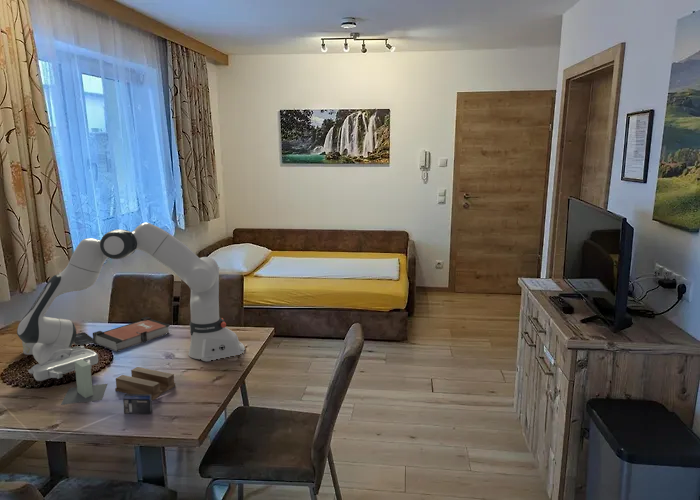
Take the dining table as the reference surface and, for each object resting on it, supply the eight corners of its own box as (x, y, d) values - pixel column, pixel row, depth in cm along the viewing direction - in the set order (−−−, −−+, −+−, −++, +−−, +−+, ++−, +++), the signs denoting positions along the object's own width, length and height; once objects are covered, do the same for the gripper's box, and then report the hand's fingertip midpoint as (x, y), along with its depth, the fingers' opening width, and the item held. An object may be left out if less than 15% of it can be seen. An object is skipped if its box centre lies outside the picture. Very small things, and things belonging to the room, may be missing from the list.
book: (117, 353, 199) (116, 341, 198) (93, 344, 208) (92, 332, 207) (171, 334, 221) (170, 323, 220) (147, 326, 230) (146, 316, 229)
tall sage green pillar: (85, 389, 166) (82, 359, 164) (93, 395, 162) (90, 364, 160) (77, 392, 164) (74, 361, 162) (85, 397, 160) (82, 366, 158)
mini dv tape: (124, 413, 152) (123, 396, 151) (126, 411, 153) (125, 393, 152) (150, 414, 152) (149, 396, 151) (152, 411, 153) (151, 394, 152)
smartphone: (84, 332, 220) (95, 340, 209) (84, 333, 220) (95, 342, 209) (66, 335, 214) (76, 344, 204) (66, 337, 215) (77, 346, 204)
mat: (107, 384, 171) (107, 383, 171) (101, 400, 159) (101, 399, 159) (69, 389, 167) (69, 388, 167) (60, 405, 156) (60, 404, 156)
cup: (18, 352, 197) (15, 324, 194) (38, 345, 204) (35, 318, 202) (32, 355, 194) (29, 327, 191) (51, 348, 201) (48, 321, 199)
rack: (139, 378, 176) (138, 366, 175) (175, 386, 170) (174, 373, 170) (115, 391, 166) (114, 379, 165) (152, 400, 160) (152, 387, 159)
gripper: (25, 361, 167) (40, 372, 158) (87, 344, 182) (104, 353, 174) (27, 378, 168) (42, 390, 159) (88, 360, 183) (105, 370, 175)
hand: (75, 371), depth 166 cm, fingers open, 8 cm apart
